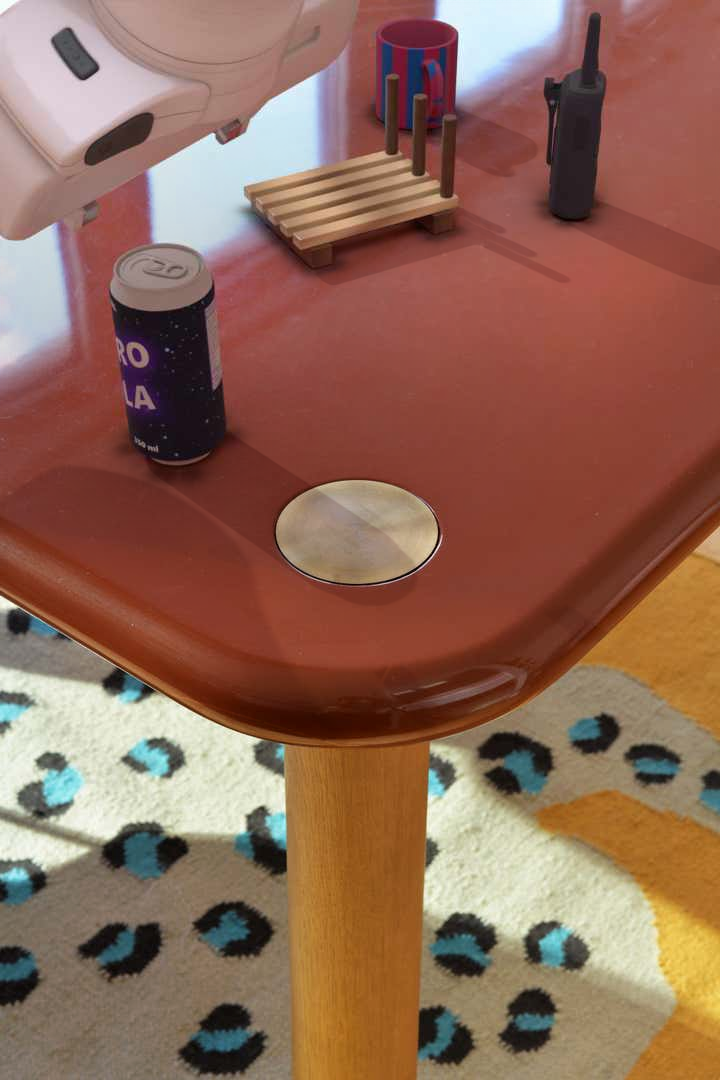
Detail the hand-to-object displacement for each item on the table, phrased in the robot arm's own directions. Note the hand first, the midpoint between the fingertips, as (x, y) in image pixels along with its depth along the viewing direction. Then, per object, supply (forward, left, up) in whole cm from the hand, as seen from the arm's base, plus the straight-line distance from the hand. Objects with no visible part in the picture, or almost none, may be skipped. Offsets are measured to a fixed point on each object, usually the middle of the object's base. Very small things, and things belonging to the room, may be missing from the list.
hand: (150, 170), depth 70 cm
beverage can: (0, 0, -17) cm, 17 cm away
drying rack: (+22, +19, -17) cm, 33 cm away
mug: (+35, +31, -17) cm, 49 cm away
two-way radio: (+37, +13, -17) cm, 43 cm away
